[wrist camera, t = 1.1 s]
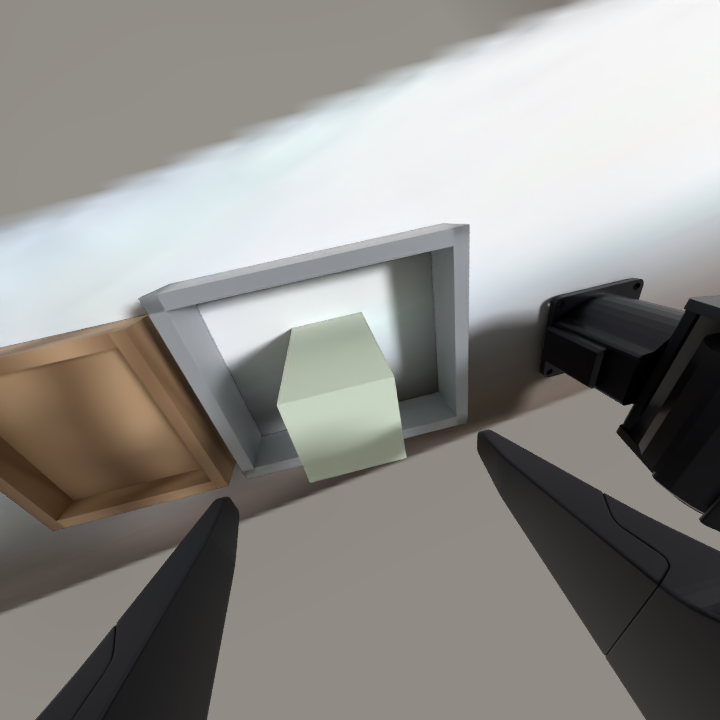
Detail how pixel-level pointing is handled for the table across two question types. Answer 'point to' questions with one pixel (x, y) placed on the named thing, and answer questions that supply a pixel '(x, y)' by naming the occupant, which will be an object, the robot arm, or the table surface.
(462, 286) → the grey bin
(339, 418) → the sage block
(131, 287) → the table surface
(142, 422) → the wooden tray
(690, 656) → the robot arm
